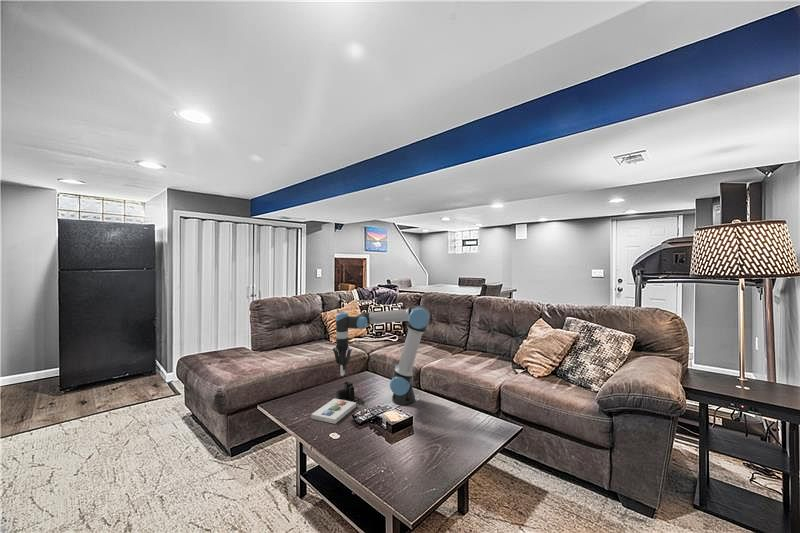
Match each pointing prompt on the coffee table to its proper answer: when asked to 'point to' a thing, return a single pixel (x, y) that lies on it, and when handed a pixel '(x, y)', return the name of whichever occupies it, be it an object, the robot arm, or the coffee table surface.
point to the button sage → (334, 406)
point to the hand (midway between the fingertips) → (342, 374)
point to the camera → (346, 392)
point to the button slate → (328, 412)
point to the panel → (335, 414)
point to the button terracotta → (341, 403)
